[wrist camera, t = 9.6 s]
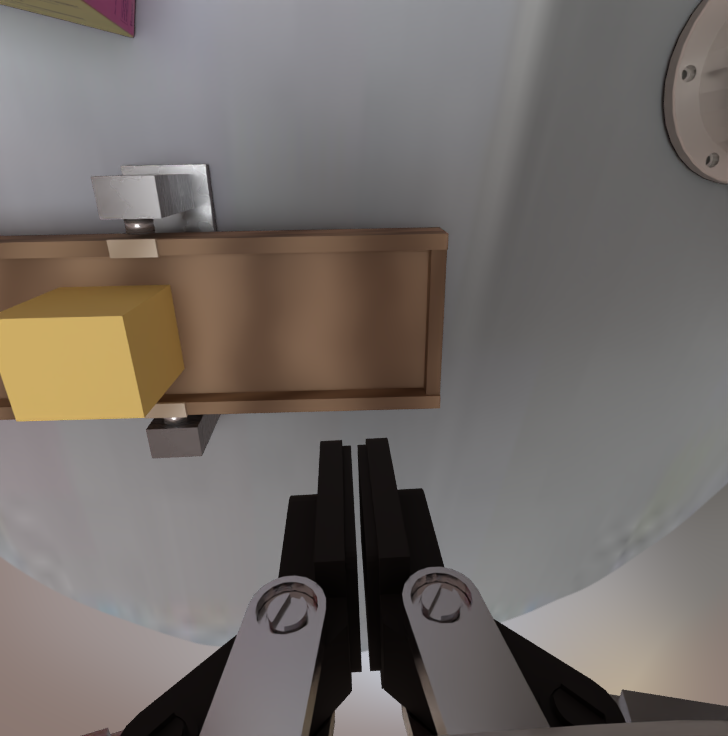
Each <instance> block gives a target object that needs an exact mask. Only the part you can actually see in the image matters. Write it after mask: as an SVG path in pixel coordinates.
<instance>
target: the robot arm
mask: <svg viewBox="0 0 728 736" xmlns="http://www.w3.org/2000/svg"><path fill="white" fill-rule="evenodd" d="M664 112H665V122H666V127H667V130H668V133H669V137H670V140H671V143H672V145H673V146H674V148H675V150H676V152H677V154H678V155H679V157H680V158H681V159H682V161H683V162H684V163H685V164H686V165H687V166H688V167H689V168H690V169H691V170H692V171H694V172H695V173H697V174H699V175H700V176H702V177H703V178H705V179H708V180H711V181H714V182H717V183H722V184H728V0H703V1H702V2H701V3H700V5H699V6H698V7H697V9H696V10H695V11H694V13H693V14H692V16H691V17H690V19H689V21H688V23H687V24H686V26H685V28H684V30H683V31H682V33H681V35H680V37H679V39H678V42H677V44H676V47H675V50H674V52H673V55H672V57H671V60H670V64H669V69H668V73H667V77H666V81H665V94H664ZM358 470H359V497H360V524H361V545H362V559H363V574H364V589H365V603H366V618H367V632H368V647H369V660H370V671H379V670H380V673H381V685H382V689H383V688H384V690H385V691H386V692H387V693H389V694H390V695H391V696H392V697H393V698H394V699H396V700H397V701H398V702H399V703H400V704H401V705H402V714H403V720H404V724H405V727H406V731H407V735H408V736H728V706H723V705H717V704H710V703H704V702H698V701H691V700H685V699H679V698H673V697H666V696H660V695H654V694H647V693H641V692H635V691H628V690H622V692H621V695H620V696H617V695H611V694H608V693H607V692H606V690H604V689H603V688H602V687H600V686H599V685H598V684H597V683H595V682H594V681H593V680H591V679H590V678H588V677H586V676H585V675H583V674H582V673H580V672H578V671H577V670H575V669H573V668H572V667H570V666H569V665H567V664H565V663H564V662H562V661H561V660H559V659H557V658H556V657H554V656H553V655H551V654H549V653H548V652H546V651H545V650H543V649H541V648H540V647H538V646H536V645H535V644H533V643H532V642H530V641H528V640H527V639H525V638H523V637H522V636H520V635H518V634H517V633H515V632H514V631H512V630H510V629H509V628H507V627H506V626H504V625H503V624H501V623H499V622H498V621H496V620H495V619H493V617H492V615H491V613H490V612H489V610H488V608H487V606H486V604H485V602H484V600H483V598H482V596H481V594H480V592H479V591H478V589H477V588H476V586H475V585H474V583H473V582H472V581H471V580H470V579H469V578H467V577H466V576H465V575H464V574H462V573H460V572H458V571H456V570H453V569H450V568H445V567H444V564H443V561H442V557H441V553H440V549H439V546H438V542H437V538H436V535H435V531H434V527H433V524H432V520H431V516H430V513H429V509H428V505H427V501H426V498H425V494H424V491H423V489H422V488H420V489H402V490H397V485H396V480H395V475H394V470H393V464H392V459H391V454H390V449H389V443H388V439H387V438H374V439H366V445H358ZM351 672H362V666H361V643H360V619H359V595H358V572H357V551H356V532H355V514H354V496H353V478H352V459H351V446H342V440H336V441H321V442H320V458H319V476H318V494H313V495H295V496H290V499H289V505H288V512H287V519H286V526H285V534H284V541H283V548H282V555H281V563H280V570H279V577H278V578H277V579H274V580H272V581H270V582H269V583H267V584H265V585H263V586H262V587H261V588H260V589H259V590H258V591H257V592H256V593H255V594H254V595H253V597H252V599H251V601H250V602H249V604H248V607H247V610H246V612H245V615H244V618H243V620H242V623H241V626H240V628H239V631H238V634H237V635H236V636H235V637H233V638H232V639H231V640H230V641H228V642H227V643H226V644H225V645H223V646H222V647H221V648H220V649H218V650H217V651H216V652H215V653H213V654H212V655H211V656H210V657H209V658H207V659H206V660H205V661H204V662H202V663H201V664H200V665H199V666H197V667H196V668H195V669H194V670H192V671H191V672H190V673H189V674H187V675H186V676H185V677H184V678H182V679H181V680H180V681H179V682H177V683H176V684H175V685H174V686H173V687H171V688H170V689H169V690H168V691H166V692H165V693H164V694H163V695H161V696H160V697H159V698H158V699H156V700H155V701H154V702H153V703H151V704H150V705H149V706H148V707H146V708H145V709H144V710H143V711H141V712H140V713H139V714H138V715H137V716H136V717H135V718H134V719H133V720H132V721H131V722H130V723H129V724H128V725H127V726H126V728H125V729H124V730H122V731H119V732H116V733H112V734H110V732H109V729H108V728H105V729H102V730H99V731H95V732H92V733H89V734H86V735H82V736H333V733H334V724H335V710H336V708H337V707H338V706H339V705H340V704H341V703H342V702H343V701H344V700H345V698H346V697H347V696H348V695H349V694H350V693H351V691H352V677H351Z"/></svg>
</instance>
